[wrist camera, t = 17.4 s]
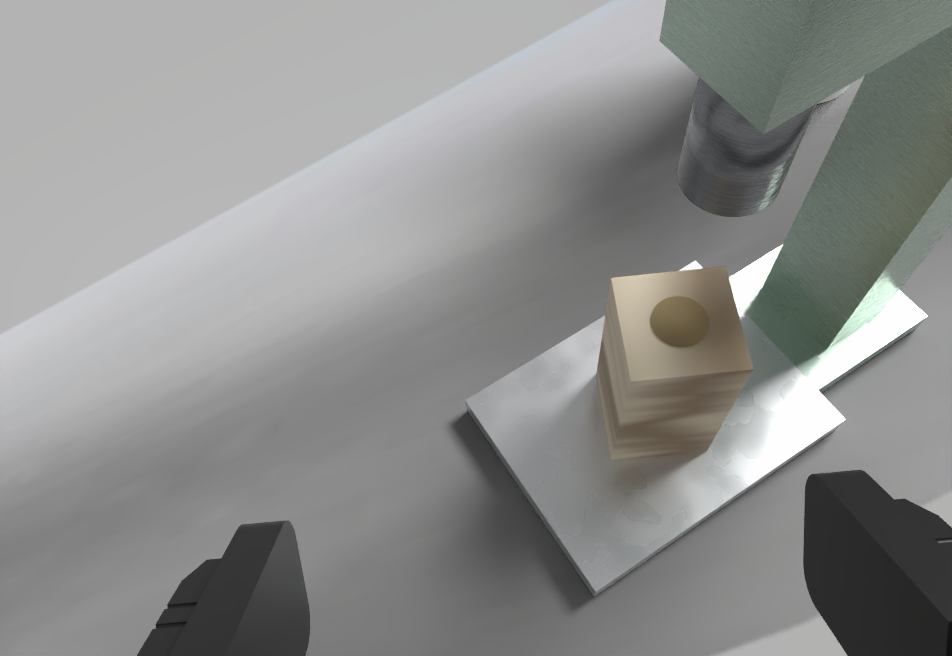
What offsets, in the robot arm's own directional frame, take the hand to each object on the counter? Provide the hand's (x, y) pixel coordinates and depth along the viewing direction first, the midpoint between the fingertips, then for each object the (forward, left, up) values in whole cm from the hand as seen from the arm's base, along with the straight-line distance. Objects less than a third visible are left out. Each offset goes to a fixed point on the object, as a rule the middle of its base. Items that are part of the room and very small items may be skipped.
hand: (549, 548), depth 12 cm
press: (+21, +8, -29) cm, 36 cm away
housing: (+12, +8, -27) cm, 31 cm away
